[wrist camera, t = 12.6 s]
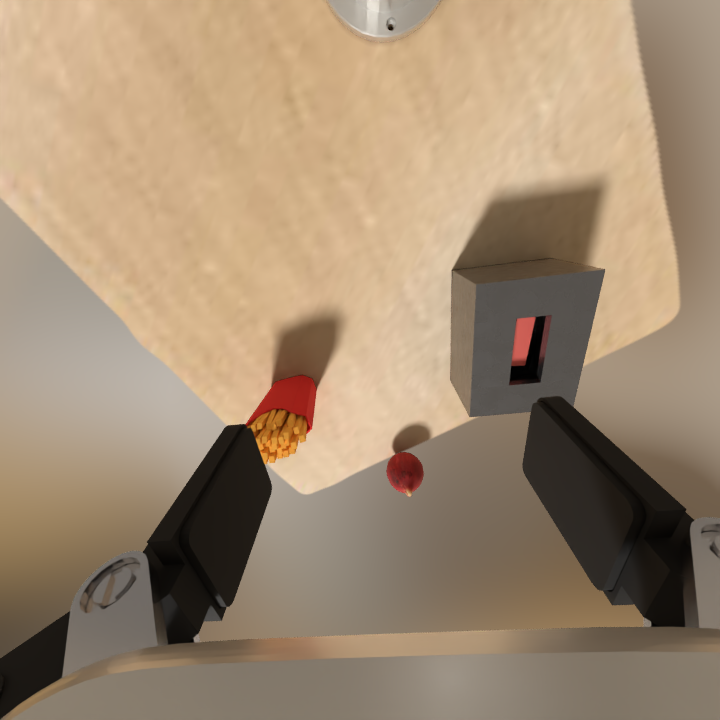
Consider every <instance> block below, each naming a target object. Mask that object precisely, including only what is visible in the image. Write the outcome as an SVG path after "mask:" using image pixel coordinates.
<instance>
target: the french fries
mask: <svg viewBox="0 0 720 720" xmlns="http://www.w3.org/2000/svg"><path fill="white" fill-rule="evenodd" d="M316 391H317V389H316V387H315V384H314V382H313V380H312V378H309V377H306V376H304V375H300V376H295V377H291V378H287V379H283V380H280V381H276V382H275V383H274V385H273V386H272V388H271V389H270V390H269V392H268V393H267V395H266V396H265V397H264V399H263V400H262V402H261V403H260V405H259V406H258V407H257V409H256V410H255V412H254V413H253V415H252V416H251V417H250V419H249V420H248V422H247V423H246V424H245V425H246V426H247V428H251V429H252V431H253V433H254V436H255V439H256V442H257V444H258V447H259V450H260V453H261V456H262V458H263V461H264V464H267V462H268V459H269V462H270V463H275V460H276V458H277V459H280V458H283V457H289V454H295V452H296V449H297V445H298V440H300V443H302V442H305V441H306V434H307V433H308V432H309V431H310V430H311V429H312V424H313V416H314V408H315V399H316Z"/></svg>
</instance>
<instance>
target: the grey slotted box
mask: <svg viewBox="0 0 720 720" xmlns="http://www.w3.org/2000/svg"><path fill="white" fill-rule="evenodd" d="M604 273H605V269H601V268H596V267H592V266H587V265H582V264H577V263H572V262H567V261H562V260H557V259H553V258H548V259H540V260H532V261H524V262H515V263H507V264H499V265H491V266H483V267H475V268H466V269H458V270H452V292H451V369H450V381H451V382H452V384H453V386H454V388H455V390H456V392H457V394H458V396H459V398H460V400H461V401H462V403H463V405H464V407H465V409H466V411H467V413H468V415H469V417H477V416H489V415H499V414H512V413H522V412H531V408H532V405H533V403H536V402H537V400H538V399H539V398H541V397H552V396H561V397H562V398H564V399H565V400H566V401H567V402H568V403H569V404H570V405H572V406H573V405H574V401H575V397H576V392H577V388H578V384H579V380H580V375H581V371H582V367H583V363H584V359H585V354H586V350H587V346H588V341H589V337H590V333H591V329H592V324H593V320H594V316H595V312H596V307H597V303H598V299H599V295H600V290H601V286H602V282H603V277H604ZM529 317H536V318H535V322H534V327H533V332H532V336H531V341H530V345H529V350H528V354H527V359H526V364H525V365H524V366H511V363H512V354H513V346H514V337H515V328H516V319H519V318H529Z"/></svg>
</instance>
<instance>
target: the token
mask: <svg viewBox="0 0 720 720" xmlns="http://www.w3.org/2000/svg"><path fill="white" fill-rule="evenodd" d="M535 318H536V317H529V318H519V319H516V328H515V337H514V346H513V354H512V363H511V366H524V365H525V364H526V359H527V354H528V350H529V345H530V341H531V336H532V332H533V327H534V322H535Z"/></svg>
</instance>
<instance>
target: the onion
mask: <svg viewBox="0 0 720 720" xmlns="http://www.w3.org/2000/svg"><path fill="white" fill-rule="evenodd" d="M423 475H424V474H423V467H422V464H421V462H420V461H419V460H418V458H417V457H415V456H414V455H412V454H411V453H406V452H400V453H398V454H396V455H394V456H393V457H392V458H391V459H390V461H389V462H388V466H387V476H388V479H389V481H390V483H391V485H392V486H393V487H394V488H395V489H396V490H398V491H399V492H402V493H406V494H407V496H411V494H412V492H413V491H415V490H416V489H417V488H418V487H419V486H420V484H421V482H422V480H423Z"/></svg>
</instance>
